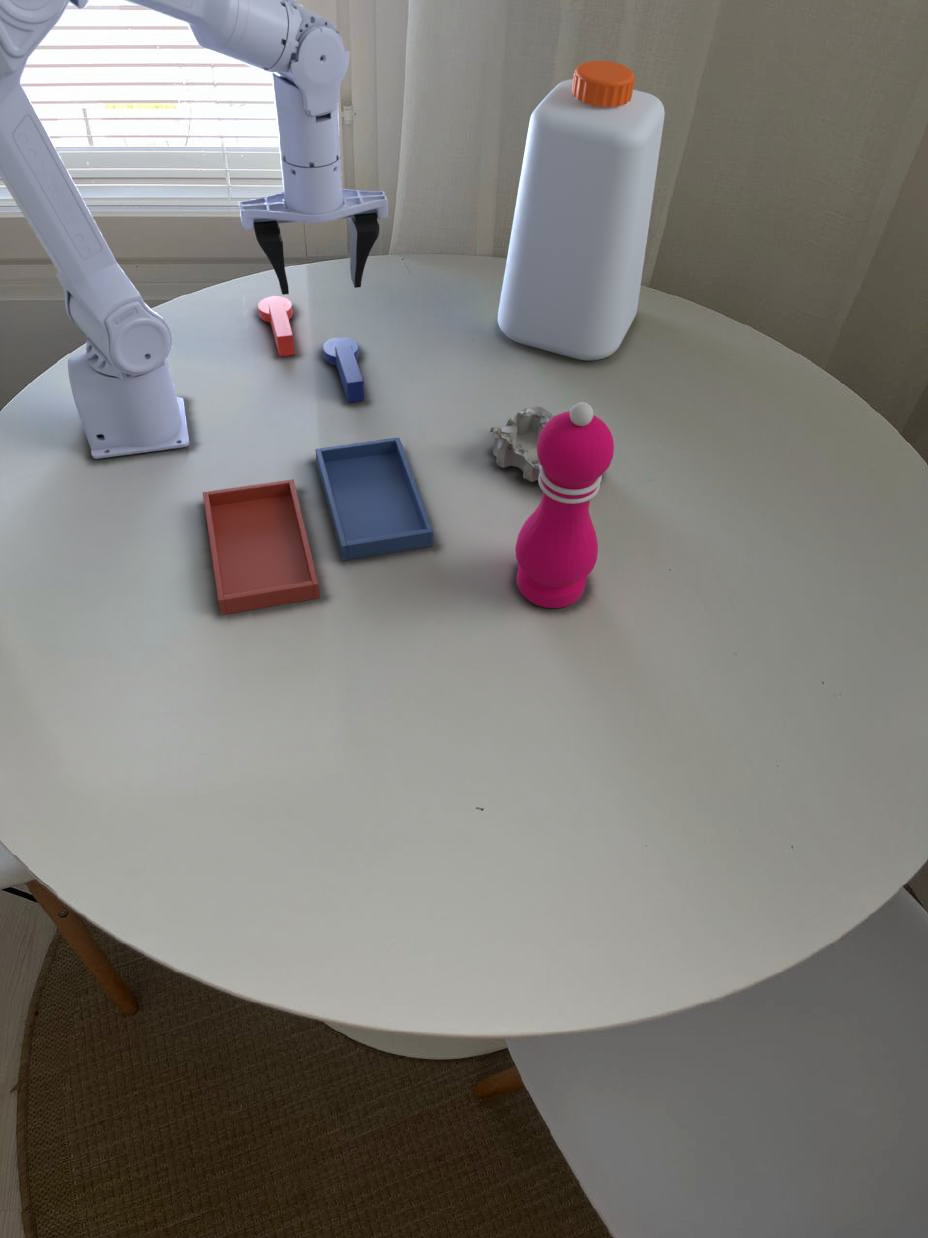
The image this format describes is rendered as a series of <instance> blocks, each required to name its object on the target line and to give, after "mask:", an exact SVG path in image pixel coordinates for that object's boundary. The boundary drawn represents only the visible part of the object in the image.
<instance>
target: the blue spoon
mask: <svg viewBox="0 0 928 1238" xmlns="http://www.w3.org/2000/svg"><path fill="white" fill-rule="evenodd" d="M322 351H323V353H322V354H323V359H324V361H325V362H326V363H328V364H329V365H332V366H336V368H337V372H338V375H339V379H340V381H341V385H342V388H343V391H344V394H345V397H346V401H347V403H348V404H350V403H359V402H364V401H365V381H364V378H363V376H362V371H361V370H360V366H359V363H358V360H359V356H360V353H359V352H360V351H359V344H358V342H357V341H356V340H354V339H352V338H349V337H346V336H337V337H331V338H329V339H328V340H326V341H325V342H324V343H323V345H322Z"/></svg>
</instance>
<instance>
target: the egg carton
mask: <svg viewBox="0 0 928 1238" xmlns="http://www.w3.org/2000/svg"><path fill="white" fill-rule="evenodd" d="M554 416H555V415H554V414H552V413H551V412H550V411H549V410H547V409H546V408H544V407H541V406H532V407H526V408H523V409H522V410H521V411H518V412H517V413H516V415H515V416H514V417H512V418H509V419H508V421H507V422H506V424H505V426H504V427H502V428H501V425H497V426H496V427H491V428H490V430H489V433H493V434H494V440H493V448H492V454H493V455H494V457H496V461H495V462H496V464H497V466H499V467H500V468H502V469H503V468H507V467H516V468H519V469H520V470H521V472H522V479H524V480H527V481H529V482H532V483H534V482H536V481H538V477H539V474H540V466H541V464H540V462H539V459H538V456H537V442H538V438H539V435H540V432H541V430H542V429H543V427H544V426H545V424H546V423H547V422H548V421H549V420H550V419H551V418H553V417H554Z"/></svg>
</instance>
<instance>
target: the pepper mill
mask: <svg viewBox="0 0 928 1238" xmlns="http://www.w3.org/2000/svg"><path fill="white" fill-rule="evenodd" d="M614 451H615V442H614V437H613V434H612V432H611V430H610V428H609V427H608V425H607V424H606V422H605V421H603V420H602V419H601V418H599V417H598V416H596V414H594V410H593V408H592V406H591V405H590V404H589V403H587V402H584V401H580V402H577V403H575V404H574V405H573V406H572V407H571V408H570V410H568V411H564V412H561V413H558V414H555V415H554V417H553V418H551V419H550V420H549V421H548V422H547V423H546V424H545V426H544V427H543V429H542V430H541V432H540V435H539V438H538V442H537V456H538V459H539V462H540V464H541V466H540V474H539V477H538V480H537V481H538V486H539V488H540V490H541V491H542V495H541V501H540V502H539V504H538V506H537V507H536V508H535V510H533V512H532V513H531V514H530V516H529V517H527V519H526V520H525V522H524V523H523V524H522V527H521V528H520V529H519V531H518V534H517V539H516V542H515V547H514V549H515V550H514V552H515V558H516V561H517V564H518V565H517V566H518V567H517V572H516V585H517V588H518V590H519V592H520V594H521V595H522V596H523V598H525V599H526V600H528V602H530V603H532V604H534V605H536V606H538V607H543V608H545V609H560V608H566V607H569V606H571V605H573V604H575V603H576V602H577V601H578V600H579V599H580V598H581V597H582V596H583V594H584V592H585V588H586V583H587V580H588V579H587V578H588V576H589V575H590V574H591V573H592V572H593V570H594V568H595V566H596V564H597V561H598V553H599V552H598V551H599V544H598V543H599V542H598V538H597V537H598V536H597V531H596V530H595V527H594V523H593V521H592V519H591V515H590V501H591V500H592V499H593V498H594V497H596V496H597V494H598V493H599V491H600V487H601V482H602V478H603V475H604V473H606V471H607V470H608V469H609V468H610V466H611V464H612V461H613V458H614Z"/></svg>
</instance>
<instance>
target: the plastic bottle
mask: <svg viewBox="0 0 928 1238" xmlns="http://www.w3.org/2000/svg"><path fill="white" fill-rule="evenodd" d="M635 82H636V77H635V74H634V72H633V71H632V69H630V68H629V67H628V66H626V65H623V64H621V63H618V62H614V61H607V60H590V61H585V62H583V63H581V64H579V65H578V66H576V68H575V70H574V72H573V77H572V78H570V79H566V80H563V81H561V82H559V83H557V85H555V87H553V88H552V89H551V90H550V92H549V93H548V94H546V96H544V98H543V99H542V100H541V101H540V103H539V104H538V105H537V106H535V109H534V110H533V111H532V113H531V115H530V117H529V124H528V129H527V135H526V141H525V147H524V154H523V160H522V165H521V172H520V177H519V184H518V190H517V196H516V202H515V208H514V214H513V220H512V226H511V233H510V239H509V245H508V249H507V250H508V251H507V256H506V262H505V263H506V264H505V269H504V274H503V280H502V281H503V282H502V286H501V294H500V300H499V304H498V305H499V306H498V310H497V311H498V312H497V325H498V326H499V328H500V331H501V332H502V334H504V335H505V337H507V338H508V339H510V340H512V341H513V342H515V343H518V344H521V345H524V346H529V347H532V348H535V349H539V350H541V351H542V350H543V351H546V352H549V353H552V354H557V355H561V356H564V357H567V358H572V359H574V360H575V359H576V360H579V361H598V360H602V359H606V358H608V357H610V356H612V355H613V354H614V353H615V352H616V351H617V350H618V349H619V348H620V346H621V344H622V342H623V340H624V338H625V336H626V334H627V333H628V331H629V329H630V327H631V325H632V323H633V322H634V320H635V318H636V316H637V312H638V305H639V299H640V293H641V285H642V278H643V272H644V271H643V270H644V265H645V259H646V258H645V257H646V249H647V242H648V237H649V236H648V235H649V229H650V222H651V215H652V207H653V201H654V193H655V185H656V180H657V171H658V165H659V158H660V151H661V143H662V135H663V130H664V122H665V115H666V112H665V107H664V104H663V102H662V101H661V99H660V98H658V97H656V96H655V95H653V94H652V93H648V92H645V91H642V90H641V91H640V90H637V89H634V86H635Z"/></svg>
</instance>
